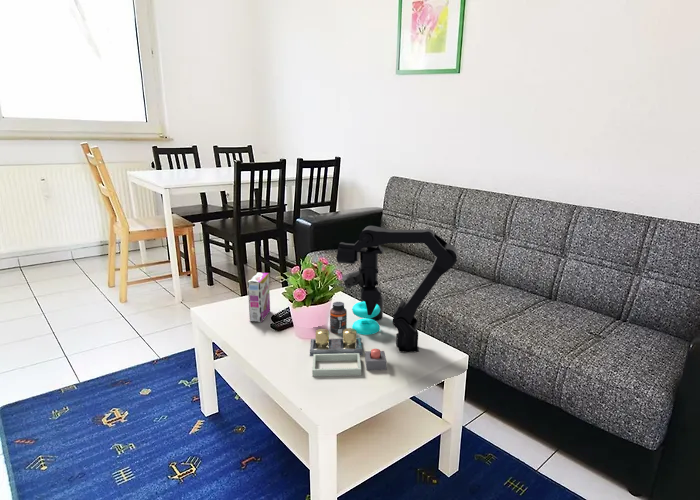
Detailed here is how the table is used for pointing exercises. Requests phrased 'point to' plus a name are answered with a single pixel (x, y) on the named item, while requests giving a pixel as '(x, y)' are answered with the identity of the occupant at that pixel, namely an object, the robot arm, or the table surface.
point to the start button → (375, 354)
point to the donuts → (365, 319)
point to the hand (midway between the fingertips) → (368, 309)
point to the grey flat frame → (336, 347)
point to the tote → (337, 370)
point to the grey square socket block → (375, 361)
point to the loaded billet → (322, 339)
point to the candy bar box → (259, 297)
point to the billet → (349, 338)
